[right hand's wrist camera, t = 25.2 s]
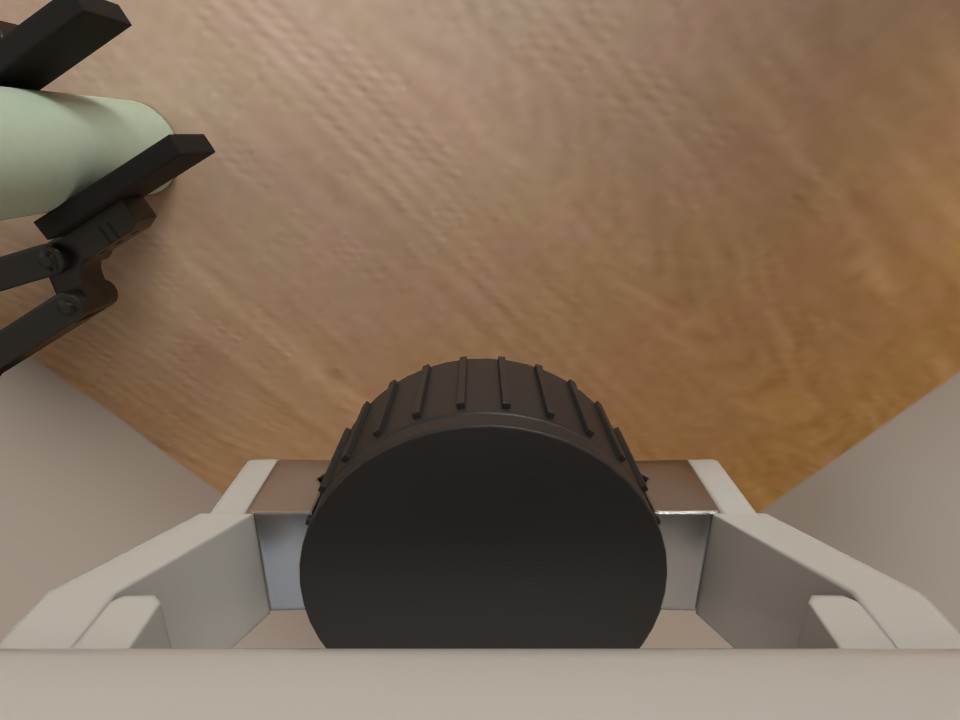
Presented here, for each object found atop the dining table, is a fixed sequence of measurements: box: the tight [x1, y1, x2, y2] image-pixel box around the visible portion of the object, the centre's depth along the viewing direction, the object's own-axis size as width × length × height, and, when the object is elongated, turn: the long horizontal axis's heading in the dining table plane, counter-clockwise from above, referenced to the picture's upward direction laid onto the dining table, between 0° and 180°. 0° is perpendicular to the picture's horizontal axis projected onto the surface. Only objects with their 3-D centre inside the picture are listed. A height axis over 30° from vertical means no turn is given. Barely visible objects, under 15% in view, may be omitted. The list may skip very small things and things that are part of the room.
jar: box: [0, 86, 174, 220], centre depth 21 cm, size 4×4×15 cm
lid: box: [299, 357, 667, 649], centre depth 9 cm, size 5×5×2 cm
